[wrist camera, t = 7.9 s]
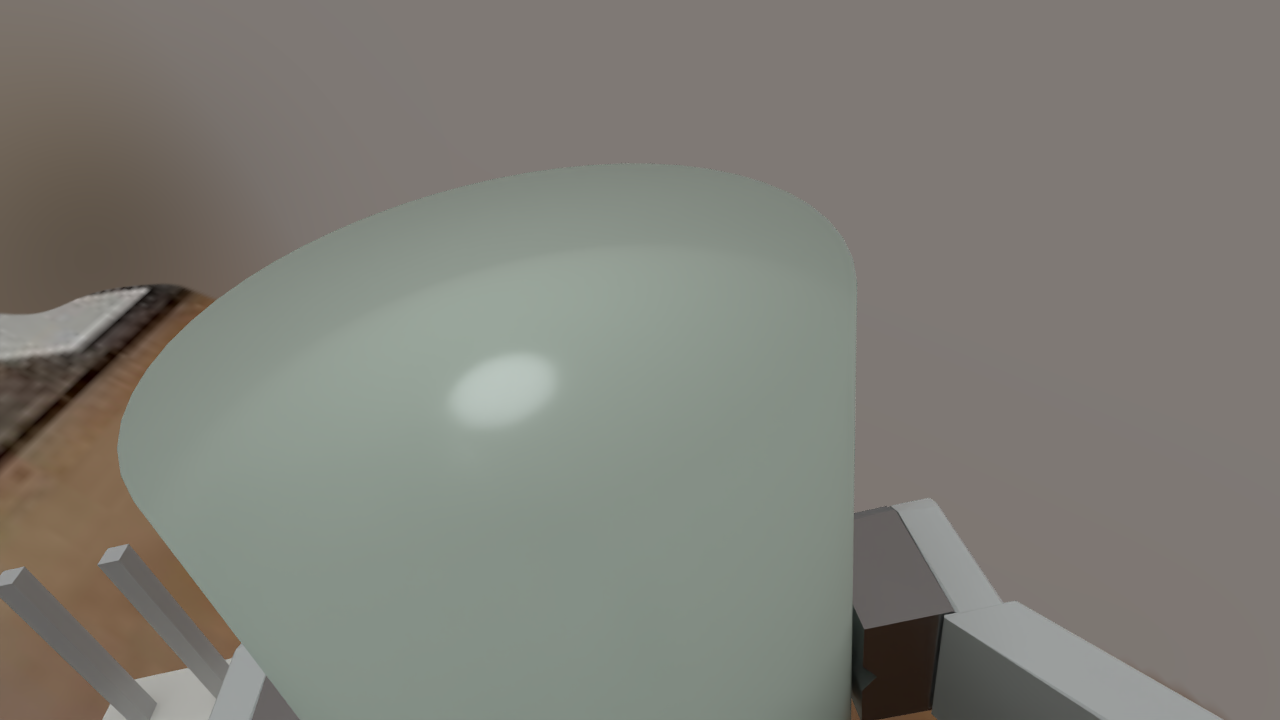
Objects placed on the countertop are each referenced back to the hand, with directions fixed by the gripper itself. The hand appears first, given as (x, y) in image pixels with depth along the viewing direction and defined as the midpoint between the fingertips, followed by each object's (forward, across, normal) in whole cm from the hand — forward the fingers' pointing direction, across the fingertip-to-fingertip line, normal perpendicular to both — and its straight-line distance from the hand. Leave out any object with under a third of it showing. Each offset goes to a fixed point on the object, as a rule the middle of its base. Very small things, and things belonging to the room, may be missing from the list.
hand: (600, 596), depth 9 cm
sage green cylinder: (-1, 0, +6) cm, 6 cm away
